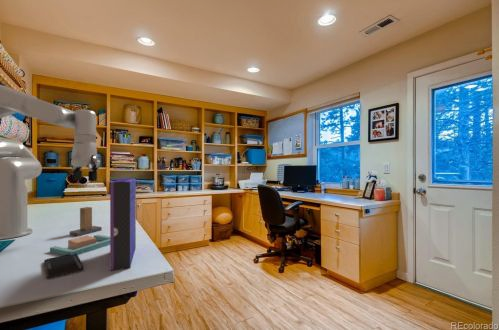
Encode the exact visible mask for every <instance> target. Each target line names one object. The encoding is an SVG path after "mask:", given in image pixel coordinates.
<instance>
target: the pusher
mask: <svg viewBox="0 0 499 330" xmlns="http://www.w3.org/2000/svg"><path fill="white" fill-rule="evenodd" d="M102 228H103V227H102V226H98V225H93V207H91V206H85V207H80V208H79V229H75V230H70V231H69V236H71V237H75V238H79V237H83V236H87V235H90V234H93V233H97V232H100V231H102Z"/></svg>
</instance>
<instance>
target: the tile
mask: <svg viewBox="0 0 499 330" xmlns="http://www.w3.org/2000/svg"><path fill="white" fill-rule="evenodd" d="M95 243H97V240H96V238H94V236H89V235H82V236H79V237H74V238H72V239H71V238H70V239H68V243H67V249H71V250H75V249H78V248H82V247H85V246H88V245H91V244H95Z"/></svg>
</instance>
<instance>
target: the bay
mask: <svg viewBox="0 0 499 330" xmlns="http://www.w3.org/2000/svg"><path fill="white" fill-rule="evenodd" d="M93 237H94V238H96V241H98V242H96V243H95V244H91V245H88V246H85V247H82V248H78V249H75V250H73V249H70V248H65V247H60V246H58V245H57V246H56V245H53V246H51V247H49V253H51V254H52V253H53V254H56V255H60V256H64V255H74V254H77V255H78V256H79V255H82V254H84V253H89V252H91V251H95V250H97V249H100V248H103V247H107V246H110V235H108V236H107V235H102V234H95V235H93Z"/></svg>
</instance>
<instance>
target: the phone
mask: <svg viewBox="0 0 499 330" xmlns="http://www.w3.org/2000/svg"><path fill="white" fill-rule="evenodd" d="M43 261H44V262H43V268H44V272H45V278H46V280H53V279H57V278H61V277H65V276H69V275H73V274H77V273H81V272H83V271H84V265H83V263H82V261H81V259H80V257H79V255H77V254H74V255H60V256H54V257H49V258H46V259H44V260H43Z"/></svg>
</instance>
